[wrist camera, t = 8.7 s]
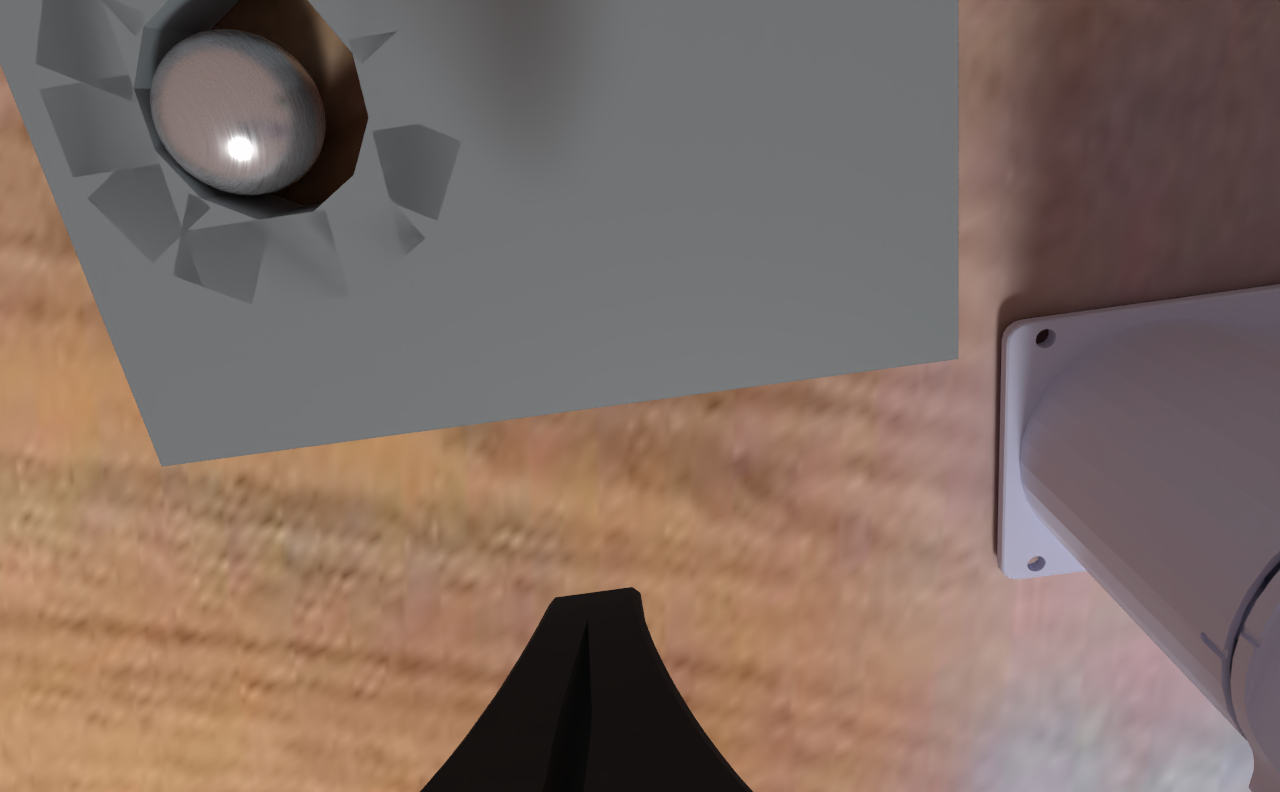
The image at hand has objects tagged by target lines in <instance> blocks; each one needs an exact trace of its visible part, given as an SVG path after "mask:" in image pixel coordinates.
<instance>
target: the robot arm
mask: <svg viewBox="0 0 1280 792" xmlns="http://www.w3.org/2000/svg"><path fill="white" fill-rule="evenodd" d="M1045 329H1048V331H1049V334H1048V337H1047V339H1046V340H1045V341H1044V342H1042V343H1039V344H1036V337H1037V335H1038V333H1039V332H1040V331H1042V330H1045ZM1036 556H1039V558H1038V560H1037V561H1036V562H1035V563H1032V564H1028V561H1029V560H1030V559H1031V558H1033V557H1036ZM997 563H998V567H999V568H1000V570H1001V571H1002V572H1003V573H1004V575H1005V576H1006V577H1008V578H1011V579H1024V578H1033V577H1041V576H1049V575H1057V574H1066V573H1074V572H1082V571H1087V572H1088V573H1089V574H1090V575H1091V576H1092V577H1093V578H1094V579H1095V580H1096V581H1097V582H1098V583H1099V584H1100V585H1101V586H1102V587H1103V589H1104V590H1105V591H1106V592H1107V593H1108V594H1109V595H1110V596H1111V597H1112V598H1113V599H1114V600H1115V601H1116V602H1117V603H1118V604H1119V606H1120V607H1121V608H1122V609H1123V610H1124V611H1125V612H1126V613H1127V614H1128V615H1129V616H1130V617H1131V618H1132V619H1133V620H1134V621H1135V623H1136V624H1137V625H1138V626H1139V627H1140V628H1141V629H1142V630H1143V631H1144V632H1145V633H1146V634H1147V635H1148V636H1149V637H1150V638H1151V639H1152V641H1153V642H1154V643H1155V644H1156V645H1157V646H1158V647H1159V648H1160V649H1161V650H1162V651H1163V652H1164V653H1165V654H1166V655H1167V656H1168V658H1169V659H1170V660H1171V661H1172V662H1173V663H1174V664H1175V665H1176V666H1177V667H1178V668H1179V669H1180V670H1181V671H1182V672H1183V673H1184V675H1185V676H1186V677H1187V678H1188V679H1189V680H1190V681H1191V682H1192V683H1193V684H1194V685H1195V686H1196V687H1197V688H1198V689H1199V690H1200V692H1201V693H1202V694H1203V695H1204V696H1205V697H1206V698H1207V699H1208V700H1209V701H1210V702H1211V703H1212V704H1213V705H1214V706H1215V707H1216V709H1217V710H1218V711H1219V712H1220V713H1221V714H1222V715H1223V716H1224V717H1225V718H1226V719H1227V720H1228V721H1229V722H1230V723H1231V724H1232V725H1233V727H1234V728H1235V729H1236V730H1237V731H1238V732H1239V733H1240V734H1241V735H1242V736H1243V737H1244V738H1245V739H1246V740H1247V741H1248V743H1249V745H1250V747H1251V749H1252V751H1253V756H1254V771H1253V775H1252V778H1251V781H1250V784H1249V789H1250V790H1251V791H1252V792H1280V284H1277V285H1270V286H1262V287H1255V288H1248V289H1241V290H1233V291H1226V292H1219V293H1211V294H1204V295H1197V296H1189V297H1182V298H1175V299H1168V300H1160V301H1153V302H1146V303H1138V304H1131V305H1124V306H1116V307H1109V308H1102V309H1095V310H1087V311H1080V312H1073V313H1065V314H1058V315H1051V316H1043V317H1036V318H1029V319H1022V320H1018V321H1015V322H1013V323H1012V324H1010V325H1009V326H1008V327H1007V328H1006V330H1005V331H1004V333H1003V337H1002V353H1001V401H1000V450H999V498H998V546H997ZM420 792H753V791H752V790H751V789H750V788H749V787H748V786H747V785H746V784H745V783H744V781H743V780H742V779H741V778H740V777H739V776H738V774H737V773H736V772H735V771H734V769H733V768H732V767H731V766H730V765H729V763H728V762H727V761H726V760H725V758H724V757H723V756H722V755H721V753H720V752H719V751H718V749H717V748H716V747H715V745H714V744H713V743H712V741H711V740H710V739H709V737H708V736H707V735H706V733H705V732H704V730H703V729H702V727H701V726H700V725H699V723H698V722H697V720H696V719H695V717H694V716H693V714H692V712H691V711H690V709H689V708H688V706H687V704H686V703H685V701H684V700H683V698H682V696H681V695H680V693H679V691H678V690H677V688H676V686H675V684H674V683H673V681H672V679H671V677H670V675H669V673H668V671H667V670H666V668H665V666H664V664H663V662H662V660H661V658H660V656H659V654H658V652H657V649H656V647H655V645H654V643H653V640H652V638H651V635H650V633H649V630H648V627H647V625H646V622H645V617H644V611H643V606H642V600H641V594H640V592H638V591H637V590H636V589H634V588H633V587H630V588H623V589H615V590H608V591H601V592H593V593H586V594H579V595H571V596H564V597H556V598H555V599H554V600H553V601H552V602H551V603H550V605H549V606H548V608H547V610H546V612H545V614H544V616H543V618H542V619H541V621H540V623H539V625H538V627H537V628H536V630H535V632H534V634H533V636H532V637H531V639H530V641H529V642H528V644H527V646H526V648H525V649H524V651H523V653H522V654H521V656H520V658H519V659H518V661H517V662H516V664H515V666H514V667H513V669H512V670H511V672H510V674H509V675H508V677H507V678H506V680H505V681H504V683H503V685H502V686H501V688H500V689H499V691H498V692H497V694H496V695H495V697H494V698H493V700H492V701H491V702H490V704H489V705H488V707H487V708H486V709H485V711H484V712H483V714H482V715H481V716H480V718H479V719H478V721H477V722H476V723H475V725H474V726H473V727H472V729H471V730H470V732H469V733H468V734H467V736H466V737H465V738H464V740H463V741H462V742H461V743H460V745H459V746H458V747H457V749H456V750H455V751H454V752H453V754H452V755H451V756H450V757H449V759H448V760H447V761H446V762H445V763H444V765H443V766H442V767H441V768H440V769H439V770H438V772H437V773H436V774H435V775H434V776H433V777H432V779H431V780H430V781H429V782H428V783H427V784H426V786H425V787H424V788H423V789H422V790H421V791H420Z"/></svg>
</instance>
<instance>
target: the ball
mask: <svg viewBox="0 0 1280 792" xmlns="http://www.w3.org/2000/svg"><path fill="white" fill-rule="evenodd" d="M150 105H151V114H152V119H153V123H154V126H155V129H156V131H157V133H158V136H159V138H160V140H161V141H162V143H163V145H164V146H165V148H166V150H167V151H168V152H169V154H170V155H171V156H172V157H173V158H174V160H175V161H176V162H177V163H178V164H179V165H180V166H181V167H182V168H183V169H185V170H186V171H187V172H188V173H190V174H191V175H192V176H194V177H195V178H197V179H198V180H200V181H202V182H203V183H205V184H207V185H209V186H211V187H214V188H216V189H219V190H222V191H225V192H229V193H235V194H240V195H261V194H268V193H272V192H276V191H279V190H281V189H284V188H286V187H288V186H290V185H292V184H294V183H295V182H297V181H298V180H299V179H301V178H302V177H303V176H304V175H305V174H306V173H307V172H308V171H309V170H310V169H311V167H312V166H313V165H314V163H315V162H316V160H317V158H318V156H319V154H320V152H321V149H322V146H323V142H324V137H325V130H326V121H325V111H324V106H323V102H322V99H321V96H320V94H319V91H318V89H317V87H316V85H315V83H314V81H313V80H312V78H311V77H310V75H309V74H308V72H307V71H306V70H305V68H304V67H303V66H302V65H301V63H300V62H299V61H298V60H297V59H296V58H294V57H293V56H292V55H291V54H290V53H289V52H287V51H286V50H285V49H284V48H282V47H281V46H279V45H277V44H276V43H274V42H272V41H270V40H268V39H266V38H264V37H262V36H259V35H257V34H253V33H250V32H246V31H242V30H234V29H216V30H208V31H204V32H200V33H197V34H194V35H192V36H190V37H188V38H185V39H184V40H182V41H181V42H179V43H178V44H177V45H175V46H174V47H173V48H172V49H171V50H170V51H169V52H168V53H167V54H166V55H165V56H164V58H163V59H162V61H161V62H160V64H159V65H158V67H157V70H156V72H155V75H154V77H153V81H152V85H151V93H150Z"/></svg>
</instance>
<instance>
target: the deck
mask: <svg viewBox="0 0 1280 792" xmlns="http://www.w3.org/2000/svg"><path fill="white" fill-rule="evenodd" d="M238 1H239V0H0V64H1V67H2V69H3V72H4V74H5V77H6V79H7V82H8V84H9V87H10V89H11V92H12V94H13V97H14V99H15V102H16V104H17V107H18V109H19V112H20V114H21V117H22V119H23V122H24V124H25V127H26V129H27V132H28V134H29V137H30V139H31V142H32V144H33V147H34V149H35V152H36V154H37V157H38V159H39V162H40V164H41V167H42V169H43V172H44V174H45V177H46V179H47V182H48V184H49V187H50V189H51V191H52V194H53V196H54V199H55V201H56V204H57V206H58V209H59V211H60V214H61V216H62V219H63V221H64V224H65V226H66V229H67V231H68V234H69V236H70V239H71V241H72V244H73V246H74V249H75V251H76V254H77V256H78V259H79V261H80V264H81V266H82V269H83V271H84V274H85V276H86V279H87V281H88V284H89V286H90V289H91V291H92V294H93V296H94V299H95V301H96V304H97V306H98V309H99V311H100V314H101V316H102V319H103V321H104V324H105V326H106V329H107V331H108V334H109V336H110V339H111V341H112V344H113V346H114V348H115V351H116V353H117V356H118V358H119V361H120V363H121V366H122V368H123V371H124V373H125V376H126V378H127V381H128V383H129V386H130V388H131V391H132V393H133V396H134V398H135V401H136V403H137V406H138V408H139V411H140V413H141V416H142V418H143V421H144V423H145V426H146V428H147V431H148V433H149V436H150V438H151V441H152V443H153V446H154V448H155V451H156V453H157V456H158V458H159V461H160V463H161V466H169V465H176V464H184V463H191V462H198V461H206V460H213V459H221V458H228V457H235V456H243V455H250V454H258V453H265V452H272V451H280V450H287V449H295V448H302V447H309V446H317V445H324V444H332V443H339V442H347V441H354V440H361V439H369V438H376V437H384V436H391V435H398V434H406V433H413V432H421V431H428V430H435V429H443V428H450V427H458V426H465V425H472V424H480V423H487V422H495V421H502V420H509V419H517V418H524V417H532V416H539V415H546V414H554V413H561V412H569V411H576V410H583V409H591V408H598V407H606V406H613V405H620V404H628V403H635V402H643V401H650V400H657V399H665V398H672V397H680V396H687V395H694V394H702V393H709V392H717V391H724V390H731V389H739V388H746V387H754V386H761V385H768V384H776V383H783V382H791V381H798V380H806V379H813V378H820V377H828V376H835V375H843V374H850V373H857V372H865V371H872V370H880V369H887V368H894V367H902V366H909V365H917V364H924V363H931V362H939V361H946V360H954V359H958V0H308V1H309V2H310V4H311V5H312V6H313V7H314V8H315V10H316V11H317V12H318V13H319V14H320V16H321V17H322V18H323V19H324V20H325V21H326V23H327V24H328V25H329V26H330V27H331V29H332V30H333V31H334V32H335V33H336V34H337V36H338V37H339V38H340V39H341V40H342V42H343V43H344V44H345V45H346V46H347V48H348V49H349V50H350V51H351V52H352V54H353V58H354V62H355V65H356V69H357V73H358V77H359V81H360V85H361V89H362V93H363V97H364V101H365V105H366V109H367V113H368V117H369V118H368V122H367V126H366V130H365V134H364V137H363V141H362V145H361V149H360V153H359V157H358V161H357V164H356V168H355V172H354V175H353V176H352V177H351V178H350V179H349V180H348V181H346V182H345V183H344V184H343V185H342V186H341V187H340V188H339V189H338V190H337V191H335V192H334V193H333V194H332V195H331V196H330V197H329V198H328V199H327V200H326V201H324V202H322V203H315V204H308V205H300V204H298V203H295V202H292V201H290V200H287V199H285V198H282V197H279V196H277V195H274V194H272V193H268V194H261V195H240V194H235V193H229V192H225V191H222V190H219V189H216V188H214V187H211V186H209V185H207V184H205V183H203V182H202V181H200V180H198V179H197V178H195V177H194V176H192V175H191V174H190V173H188V172H187V171H186V170H185V169H183V168H182V167H181V166H180V165H179V164H178V163H177V162H176V161H175V160H174V158H173V157H172V156H171V155H170V154H169V152H168V151H167V150H166V148H165V146H164V145H163V143H162V141H161V140H160V138H159V136H158V133H157V131H156V129H155V126H154V123H153V119H152V114H151V105H150V93H151V85H152V81H153V77H154V75H155V72H156V70H157V67H158V65H159V64H160V62H161V61H162V59H163V58H164V56H165V55H166V54H167V53H168V52H169V51H170V50H171V49H172V48H173V47H174V46H175V45H177V44H178V43H179V42H181V41H182V40H184V39H185V38H188V37H190V36H192V35H194V34H197V33H200V32H204V31H208V30H211V29H212V28H213V27H214V26H215V25H216V24H217V23H218V22H219V21H220V20H221V19H222V18H223V17H224V16H225V15H226V14H227V13H228V12H229V11H230V10H231V9H232V8H233V7H234V6H235V5H236V4H237V2H238Z"/></svg>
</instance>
